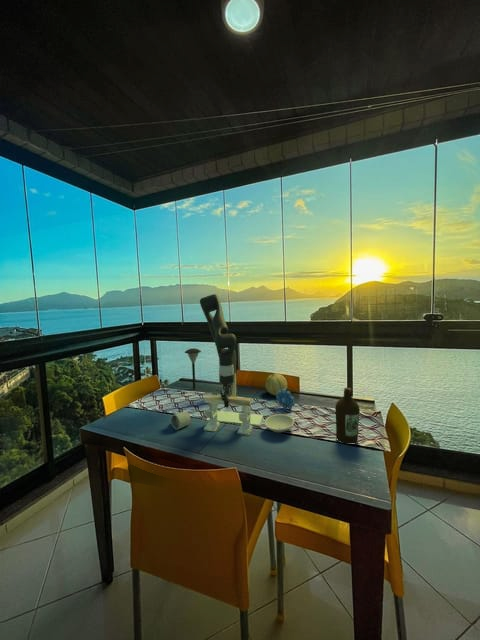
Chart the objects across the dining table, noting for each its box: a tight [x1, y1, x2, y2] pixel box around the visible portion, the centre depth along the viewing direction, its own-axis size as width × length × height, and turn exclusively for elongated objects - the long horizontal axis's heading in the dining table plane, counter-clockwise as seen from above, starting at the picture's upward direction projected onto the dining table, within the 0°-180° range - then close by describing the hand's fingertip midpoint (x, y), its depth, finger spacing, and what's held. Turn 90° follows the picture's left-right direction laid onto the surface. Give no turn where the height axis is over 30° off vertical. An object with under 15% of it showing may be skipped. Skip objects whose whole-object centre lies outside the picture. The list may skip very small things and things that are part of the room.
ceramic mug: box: [170, 411, 192, 430], centre depth 151 cm, size 11×8×8 cm
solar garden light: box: [184, 347, 202, 391], centre depth 205 cm, size 12×12×30 cm
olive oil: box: [334, 387, 361, 444], centre depth 132 cm, size 11×11×25 cm
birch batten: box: [203, 394, 252, 407], centre depth 143 cm, size 3×24×3 cm, turn 75°
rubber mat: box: [205, 410, 264, 426], centre depth 158 cm, size 12×30×1 cm, turn 75°
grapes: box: [275, 389, 295, 410], centre depth 169 cm, size 12×7×12 cm, turn 60°
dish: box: [263, 413, 295, 433], centre depth 143 cm, size 18×14×5 cm
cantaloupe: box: [265, 372, 288, 396], centre depth 193 cm, size 15×15×15 cm
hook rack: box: [203, 403, 254, 436], centre depth 146 cm, size 8×24×12 cm, turn 75°
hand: (227, 405), depth 144 cm, fingers closed on birch batten, 3 cm apart
